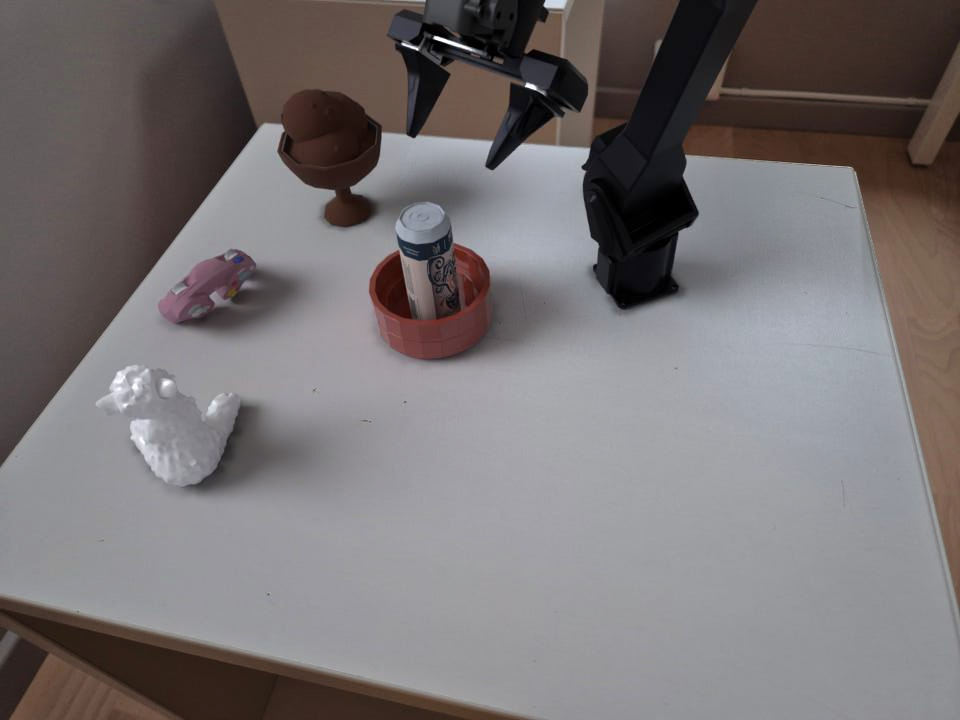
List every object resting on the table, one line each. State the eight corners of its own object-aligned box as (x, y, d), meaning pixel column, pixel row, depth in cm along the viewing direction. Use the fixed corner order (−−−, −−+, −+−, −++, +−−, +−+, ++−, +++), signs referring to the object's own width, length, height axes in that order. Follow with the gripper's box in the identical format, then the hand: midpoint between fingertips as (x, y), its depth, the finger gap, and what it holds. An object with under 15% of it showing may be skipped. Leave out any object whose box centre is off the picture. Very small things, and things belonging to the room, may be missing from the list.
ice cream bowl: (376, 248, 80) (349, 123, 69) (283, 234, 83) (241, 112, 71) (409, 189, 87) (390, 66, 75) (322, 178, 89) (290, 57, 78)
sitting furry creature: (243, 399, 68) (196, 305, 59) (256, 475, 62) (207, 385, 53) (136, 430, 66) (71, 339, 57) (139, 512, 61) (69, 425, 52)
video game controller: (185, 344, 75) (180, 314, 68) (154, 312, 75) (146, 280, 69) (262, 289, 79) (265, 257, 73) (233, 259, 80) (233, 224, 73)
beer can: (455, 335, 71) (442, 236, 61) (406, 330, 71) (387, 231, 62) (465, 299, 74) (455, 200, 64) (419, 295, 74) (402, 196, 65)
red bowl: (470, 267, 77) (466, 229, 74) (509, 340, 70) (508, 303, 67) (365, 297, 75) (356, 260, 72) (395, 376, 68) (387, 339, 65)
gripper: (383, -91, 61) (316, 93, 64) (575, -46, 53) (488, 163, 56) (452, -26, 71) (392, 131, 74) (623, 20, 63) (547, 195, 66)
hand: (448, 152), depth 67 cm, fingers open, 9 cm apart
